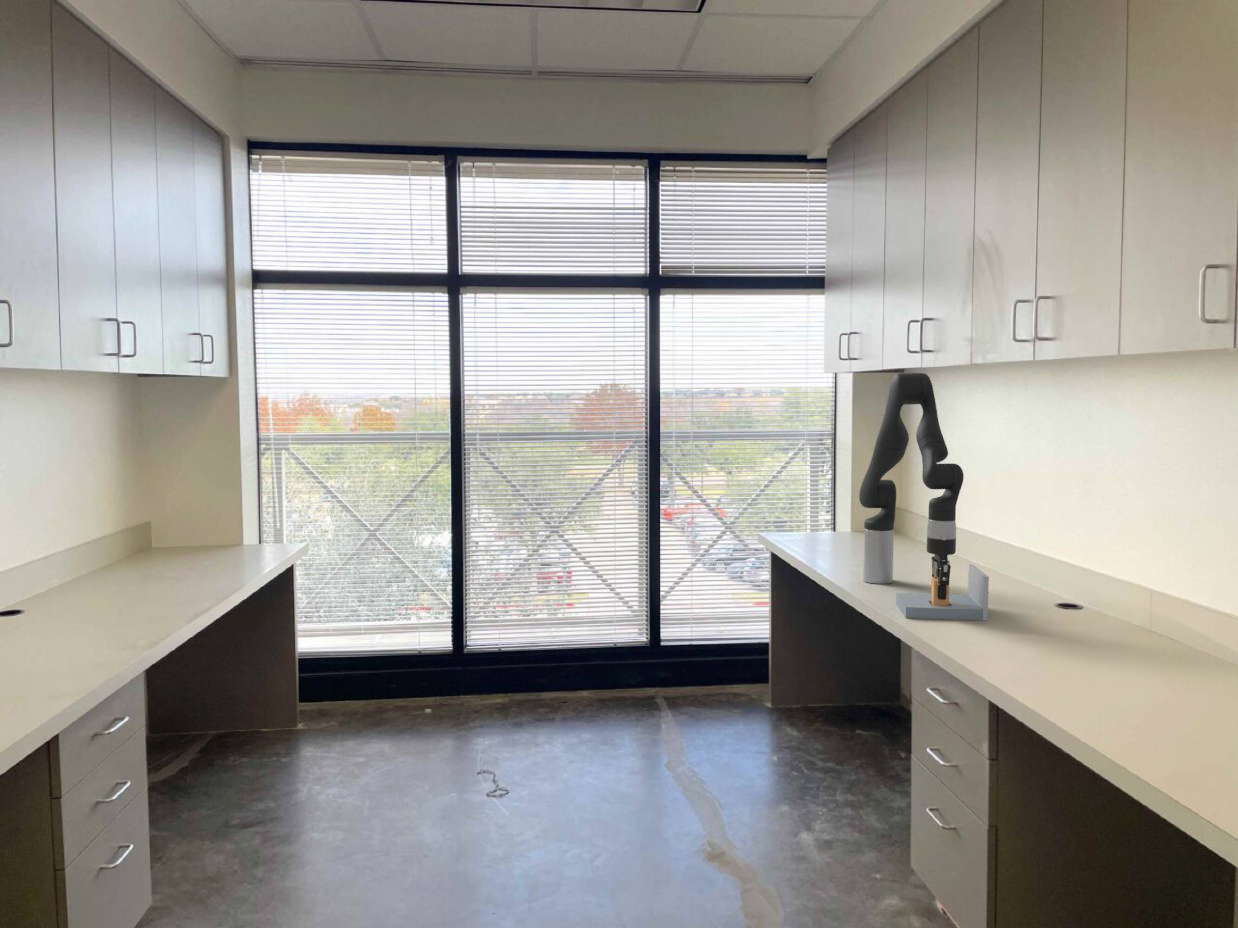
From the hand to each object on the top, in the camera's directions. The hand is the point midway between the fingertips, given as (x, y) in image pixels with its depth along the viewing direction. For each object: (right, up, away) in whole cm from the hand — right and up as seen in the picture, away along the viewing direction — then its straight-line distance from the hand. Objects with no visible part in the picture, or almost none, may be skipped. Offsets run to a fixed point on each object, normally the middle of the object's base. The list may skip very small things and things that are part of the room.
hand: (940, 596), depth 253 cm
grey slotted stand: (0, -5, +3) cm, 6 cm away
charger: (0, -4, 0) cm, 4 cm away
